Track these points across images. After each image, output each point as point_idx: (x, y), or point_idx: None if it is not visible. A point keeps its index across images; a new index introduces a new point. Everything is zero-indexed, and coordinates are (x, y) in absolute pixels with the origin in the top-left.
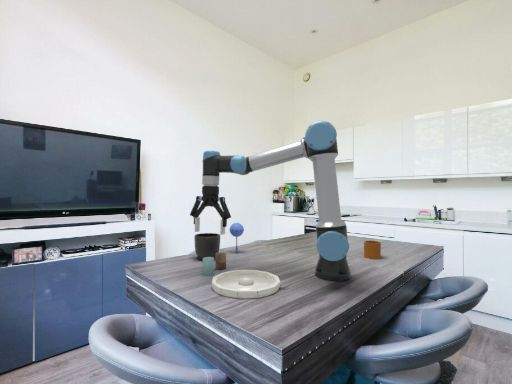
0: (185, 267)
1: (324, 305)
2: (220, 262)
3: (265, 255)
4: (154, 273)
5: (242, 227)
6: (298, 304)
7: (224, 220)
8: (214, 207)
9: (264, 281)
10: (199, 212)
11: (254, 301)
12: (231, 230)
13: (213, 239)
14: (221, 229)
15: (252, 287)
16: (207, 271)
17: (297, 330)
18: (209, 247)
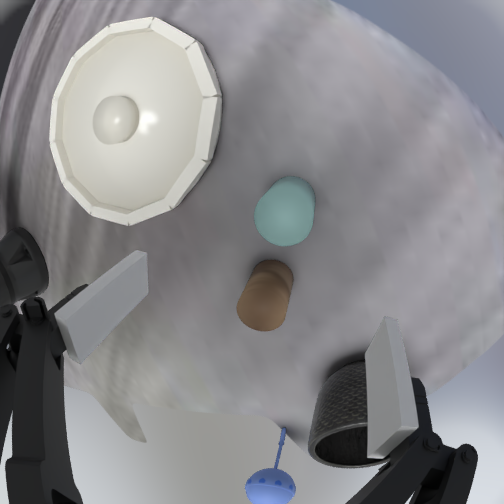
0: (413, 265)
1: (12, 98)
2: (259, 274)
3: (195, 407)
4: (488, 170)
5: (246, 491)
6: (33, 77)
7: (51, 315)
8: (41, 462)
9: (86, 155)
10: (362, 496)
11: (88, 39)
12: (283, 484)
13: (327, 421)
14: (114, 269)
15: (98, 95)
16: (283, 179)
17: (40, 3)
18: (344, 390)
